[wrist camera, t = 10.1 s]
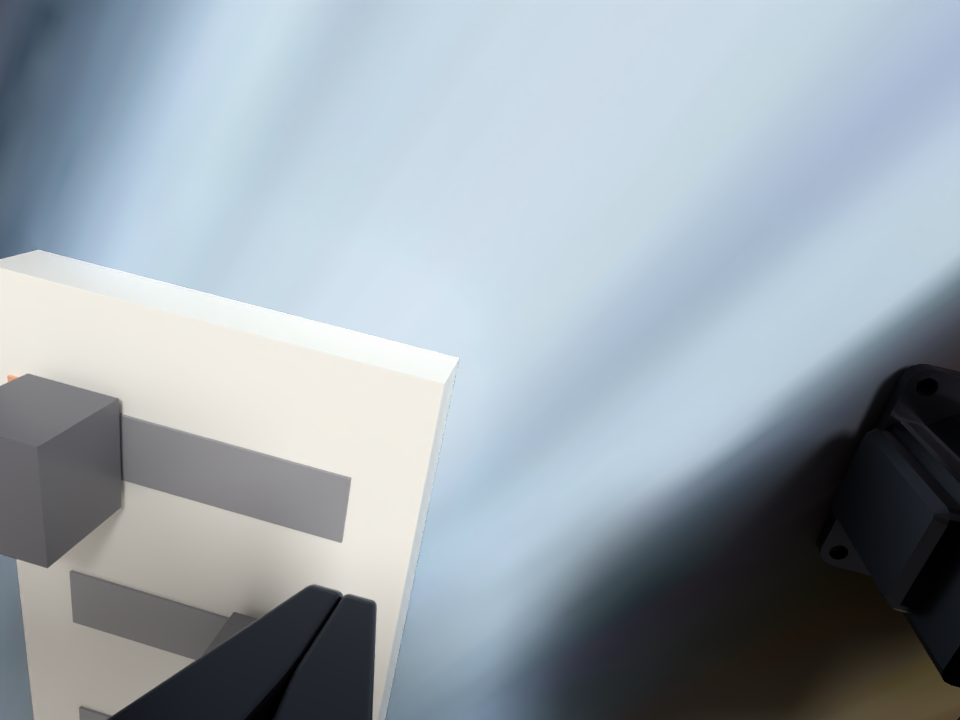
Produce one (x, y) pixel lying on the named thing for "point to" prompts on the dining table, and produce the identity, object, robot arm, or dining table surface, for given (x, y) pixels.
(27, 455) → the grey plastic block
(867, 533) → the robot arm
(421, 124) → the dining table surface
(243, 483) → the switch board
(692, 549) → the dining table surface
